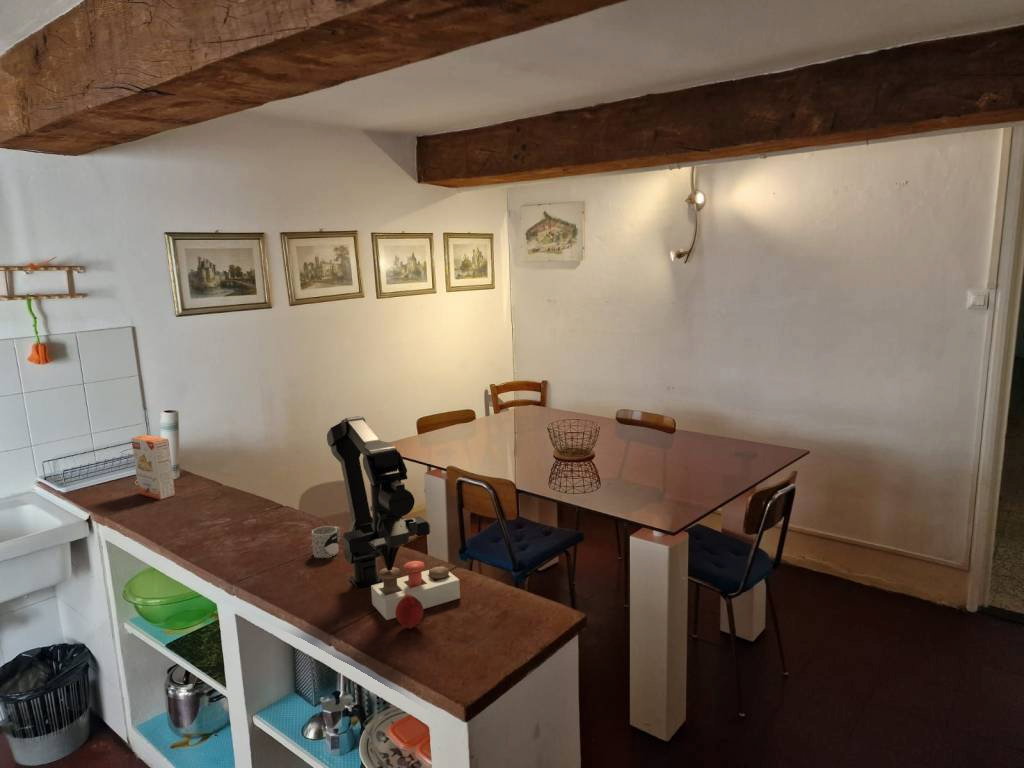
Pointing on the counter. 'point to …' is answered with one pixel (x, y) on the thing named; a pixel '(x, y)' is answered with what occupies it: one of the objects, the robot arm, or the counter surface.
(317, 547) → the mug
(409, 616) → the onion
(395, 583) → the walnut plunger near
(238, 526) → the counter surface
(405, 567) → the red plunger
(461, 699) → the counter surface
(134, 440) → the cracker box
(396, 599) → the jig
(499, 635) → the counter surface
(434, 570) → the walnut plunger far
